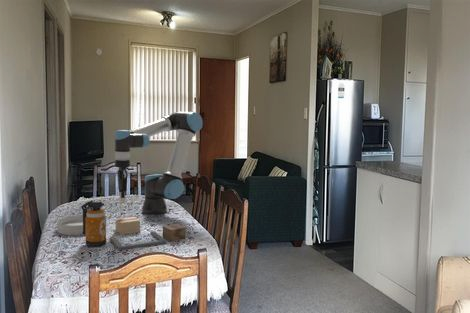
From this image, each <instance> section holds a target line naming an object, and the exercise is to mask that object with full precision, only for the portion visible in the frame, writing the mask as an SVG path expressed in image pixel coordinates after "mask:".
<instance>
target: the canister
mask: <svg viewBox="0 0 470 313" xmlns="http://www.w3.org/2000/svg"><path fill="white" fill-rule="evenodd" d="M103 206H105V203H104V202H102V201H93V200H90V201H87V202H85V203H84V204H82V205H81V206H80V208H81V210H82V215H83V232H82V235H84V236H85V244H86V245H87V246H90V247H99V246H102V245H104V244H106V243H107V216H106V214H105V213H106V212H105V210H104V208H102V207H103Z"/></svg>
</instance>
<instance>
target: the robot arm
mask: <svg viewBox="0 0 470 313" xmlns="http://www.w3.org/2000/svg"><path fill="white" fill-rule="evenodd" d="M202 128H203V118H202V116H201V115H200V114H199V112H196V111H177V112H173V113H170V114H168V115H165V116H162V117H160V119H158V120H155V121H152V122H150V123H147V124H144V125H141V126H138V127H136V128H133V129H129V130H127V129H117V130H116V131H115V133H114V138H113V139H114V153H113V155H114V159H115V160H114V167H115V168H118V170H117V171H116V173H117V174H116V175H117V183H118V185H117V189H118V192H119V198H118V199H119V200H118V201H119V202H118V203H119V205H124V204H125V205H126V192H127V186H128V171H127V168H129V167H130V166H131V165H130V164H131V163H130V162H131V161H130V159H131V149H132V148H133V149H135V148H136V149H137V148H147V147H148V146H149V145H150V138H151V137H153V136H155V135H159V134H161V133H164V132H171V131H176V132H177V136H176V139H175V143H174V147H173V150H172V153H171V156H170V161H169V163H168V166H167V168H166V169H167V170H166V171H165V172H163V173H155V174H147V175H145V177H144V201H143V204H142V207H141V212H142V213H143V214H146V215H147V214H148V215H158V214H165V213H167V212H168V207H167V205H166V201H165V198H166V199H170V200H171V199H172V200H174V199H177V198H179V197H181V195H182V193H183V191H184V190H185V189H184V188H185V187H184V182H183V177H182V172H183V169H184V167H185V162H186V160H187V156H188V152H189V149H190V146H191V143H192V138H194V137H195V136H196V134H197V132H199V131H201V129H202Z"/></svg>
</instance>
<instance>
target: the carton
mask: <svg viewBox="0 0 470 313" xmlns="http://www.w3.org/2000/svg"><path fill="white" fill-rule="evenodd" d="M140 222H141V220H140V219H139V218H137V217H135V216H130V217H122V218H116V219H115V232H117V234H120V235H124V234H131V233H137V232H141V223H140Z"/></svg>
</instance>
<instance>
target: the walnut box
mask: <svg viewBox="0 0 470 313" xmlns="http://www.w3.org/2000/svg"><path fill="white" fill-rule="evenodd" d="M186 228H187V227H186V226H183V225H181V224H178V223H173V224H168V225H167V224H166V225H163V226H162V238H163V239H165V240H166V241H168V242H171V243H174V242H177V241H179V242H180V241H183V240H186V237H187V236H186ZM182 239H183V240H182Z"/></svg>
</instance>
